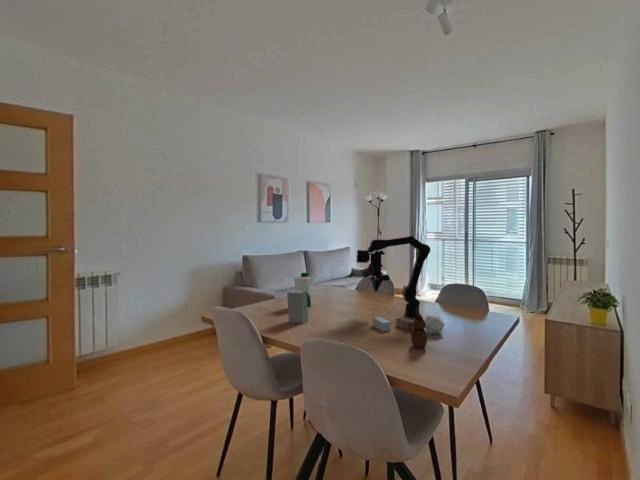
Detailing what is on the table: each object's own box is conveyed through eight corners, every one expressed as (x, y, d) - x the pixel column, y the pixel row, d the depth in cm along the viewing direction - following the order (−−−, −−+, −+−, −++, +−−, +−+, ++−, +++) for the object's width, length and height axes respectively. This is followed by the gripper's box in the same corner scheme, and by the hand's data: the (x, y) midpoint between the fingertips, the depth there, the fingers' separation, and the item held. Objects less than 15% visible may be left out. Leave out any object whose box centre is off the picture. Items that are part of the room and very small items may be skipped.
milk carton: (312, 306, 206) (312, 273, 205) (303, 309, 199) (303, 275, 198) (301, 304, 211) (301, 272, 210) (292, 307, 204) (291, 273, 203)
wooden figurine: (409, 344, 141) (409, 308, 140) (422, 343, 141) (423, 307, 141) (415, 350, 134) (415, 312, 134) (429, 349, 135) (429, 312, 134)
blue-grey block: (379, 316, 168) (390, 322, 159) (379, 324, 168) (390, 330, 159) (372, 317, 166) (383, 322, 158) (372, 325, 167) (383, 331, 158)
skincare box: (308, 320, 175) (308, 290, 175) (301, 324, 169) (301, 292, 168) (293, 319, 179) (293, 289, 178) (287, 322, 172) (286, 291, 172)
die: (440, 339, 149) (450, 319, 152) (423, 328, 150) (432, 309, 153) (434, 339, 157) (443, 321, 159) (417, 329, 158) (426, 311, 161)
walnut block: (403, 316, 168) (415, 321, 159) (403, 324, 168) (415, 330, 159) (396, 317, 167) (408, 322, 158) (396, 325, 167) (408, 331, 158)
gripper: (354, 261, 190) (354, 289, 191) (371, 265, 173) (371, 296, 173) (372, 260, 194) (372, 288, 195) (390, 264, 176) (390, 294, 177)
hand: (375, 291), depth 185 cm, fingers closed
